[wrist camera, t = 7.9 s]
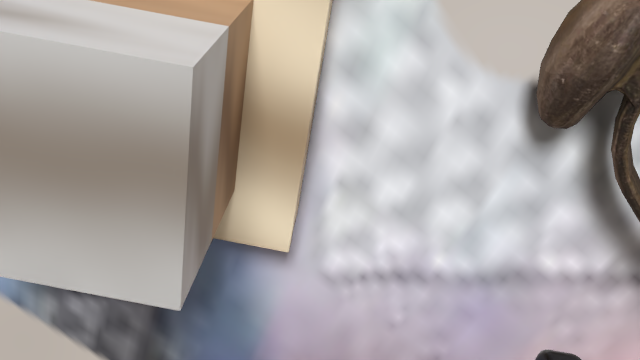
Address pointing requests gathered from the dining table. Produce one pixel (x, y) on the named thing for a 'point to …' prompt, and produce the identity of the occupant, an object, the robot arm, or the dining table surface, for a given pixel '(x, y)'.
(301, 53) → the cream slab
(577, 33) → the brown looped cylinder
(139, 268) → the housing
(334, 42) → the dining table surface
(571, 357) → the robot arm
